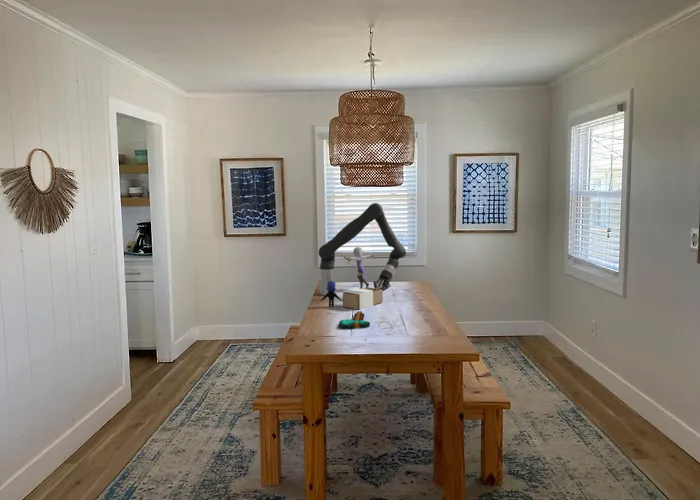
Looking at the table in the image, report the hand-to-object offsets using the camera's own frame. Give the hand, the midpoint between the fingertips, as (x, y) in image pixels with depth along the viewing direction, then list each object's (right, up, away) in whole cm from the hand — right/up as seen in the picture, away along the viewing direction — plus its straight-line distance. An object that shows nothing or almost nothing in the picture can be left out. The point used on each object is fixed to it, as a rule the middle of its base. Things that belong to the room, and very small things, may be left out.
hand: (375, 295), depth 341 cm
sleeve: (-11, -6, -13) cm, 18 cm away
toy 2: (-13, -11, -51) cm, 53 cm away
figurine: (-9, 0, +41) cm, 42 cm away
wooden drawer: (-8, -5, -9) cm, 13 cm away
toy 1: (-27, -6, -11) cm, 30 cm away
